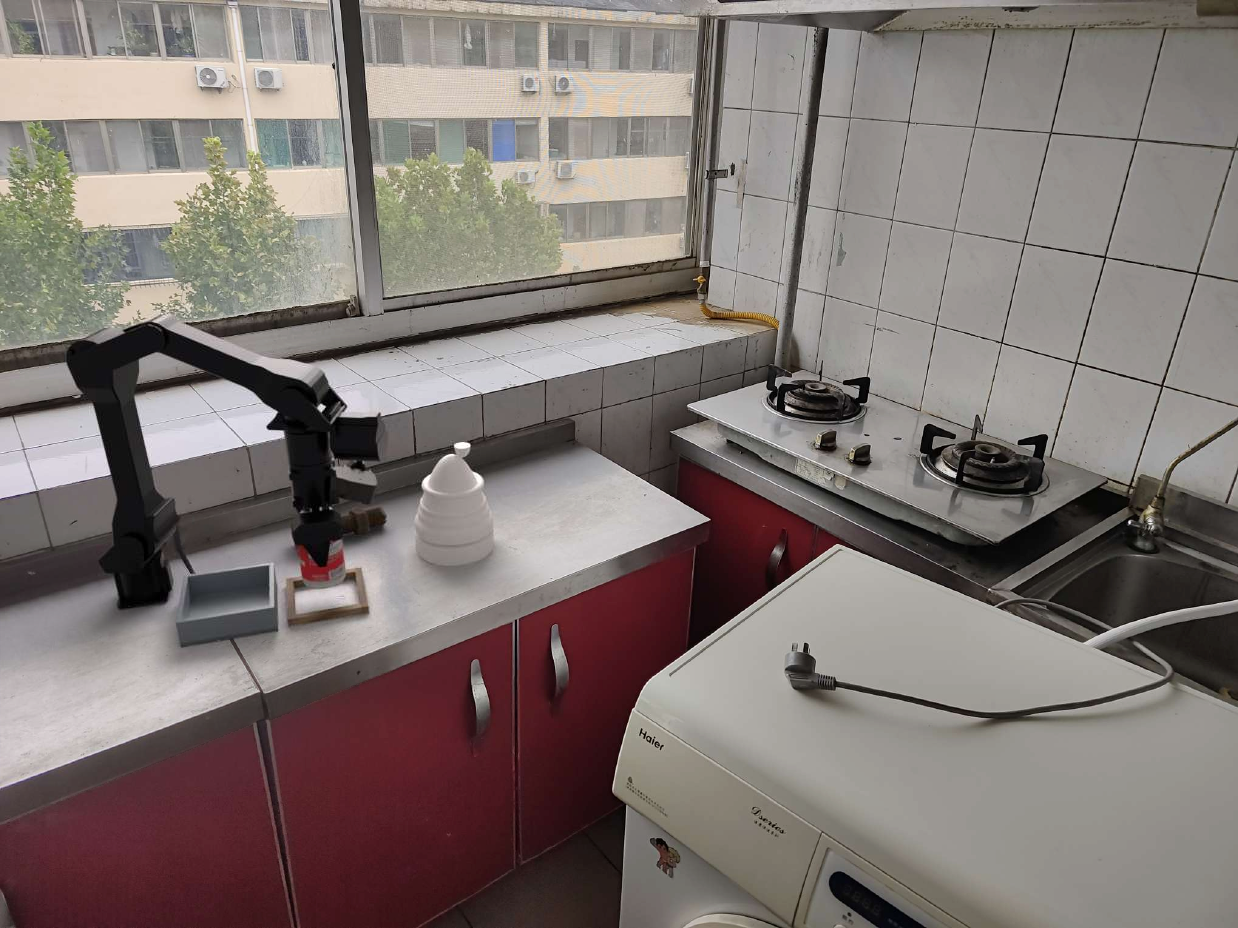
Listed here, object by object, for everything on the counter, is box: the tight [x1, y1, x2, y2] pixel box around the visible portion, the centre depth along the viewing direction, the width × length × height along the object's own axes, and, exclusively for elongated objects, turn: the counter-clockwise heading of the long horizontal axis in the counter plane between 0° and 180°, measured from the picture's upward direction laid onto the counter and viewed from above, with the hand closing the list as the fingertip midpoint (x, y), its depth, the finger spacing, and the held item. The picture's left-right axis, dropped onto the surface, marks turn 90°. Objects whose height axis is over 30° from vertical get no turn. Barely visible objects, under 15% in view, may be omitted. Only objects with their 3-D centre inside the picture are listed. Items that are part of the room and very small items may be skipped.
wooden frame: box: [285, 566, 370, 627], centre depth 123 cm, size 11×11×1 cm
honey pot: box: [413, 441, 495, 567], centre depth 135 cm, size 13×13×18 cm
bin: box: [175, 562, 279, 648], centre depth 118 cm, size 12×12×4 cm
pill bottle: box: [297, 506, 347, 590], centre depth 119 cm, size 6×6×11 cm
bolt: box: [290, 506, 388, 550], centre depth 139 cm, size 6×5×15 cm
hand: (321, 555), depth 120 cm, fingers closed on pill bottle, 6 cm apart
